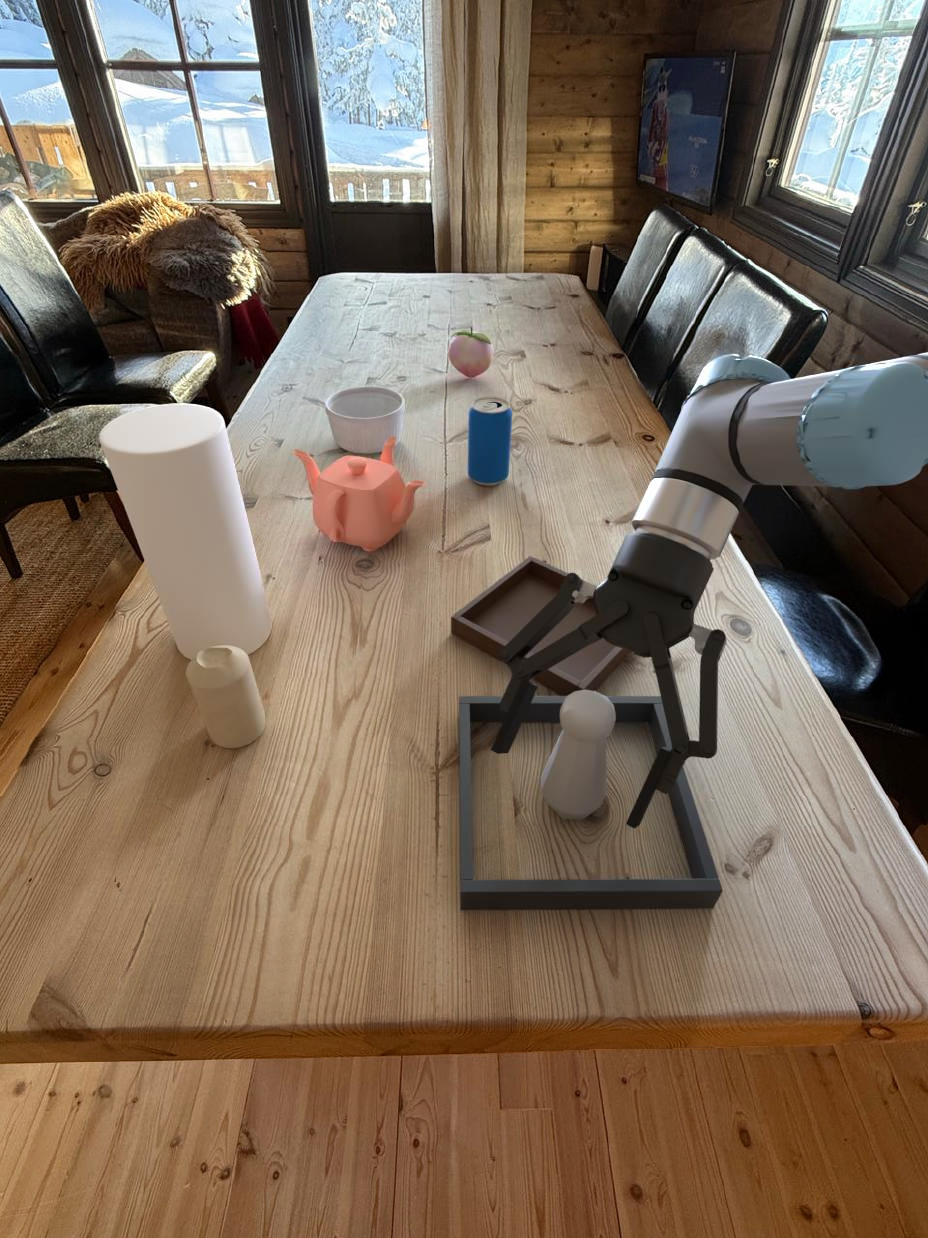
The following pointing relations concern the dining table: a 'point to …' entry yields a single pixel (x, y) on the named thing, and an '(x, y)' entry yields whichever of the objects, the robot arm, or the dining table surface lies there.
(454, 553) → the dining table surface
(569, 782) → the salt shaker
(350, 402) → the ramekin
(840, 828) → the dining table surface
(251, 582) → the tall pillar cylinder
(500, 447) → the beverage can
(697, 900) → the open gray frame
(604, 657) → the tray
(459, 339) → the decorative fruit
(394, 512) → the teapot
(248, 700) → the candle
